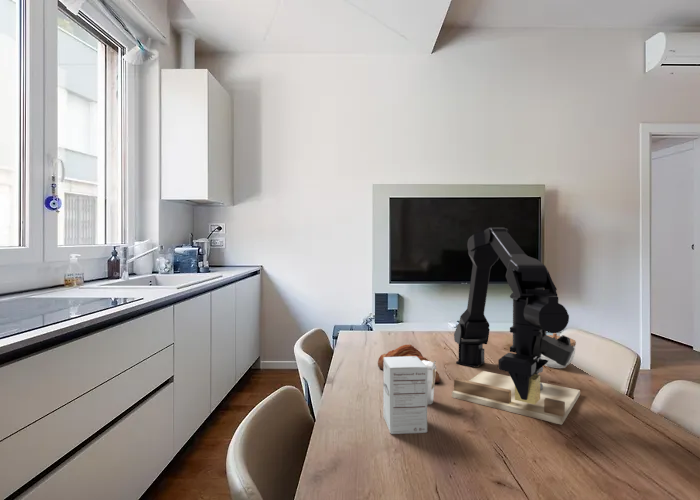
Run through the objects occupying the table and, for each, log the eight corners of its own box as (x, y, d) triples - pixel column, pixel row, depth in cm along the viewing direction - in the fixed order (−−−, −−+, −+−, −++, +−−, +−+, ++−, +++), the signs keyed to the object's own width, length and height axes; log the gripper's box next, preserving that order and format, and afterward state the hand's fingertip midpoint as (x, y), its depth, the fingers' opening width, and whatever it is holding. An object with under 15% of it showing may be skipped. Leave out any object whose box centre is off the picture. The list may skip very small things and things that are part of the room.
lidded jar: (581, 372, 112) (581, 338, 111) (540, 369, 114) (540, 336, 114) (568, 361, 122) (568, 330, 122) (530, 359, 124) (531, 329, 124)
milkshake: (426, 408, 86) (426, 362, 86) (411, 400, 91) (411, 356, 91) (442, 404, 88) (443, 359, 88) (427, 396, 93) (427, 353, 93)
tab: (514, 399, 84) (515, 376, 84) (520, 394, 87) (520, 371, 87) (535, 404, 82) (535, 380, 82) (540, 398, 85) (540, 375, 85)
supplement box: (382, 418, 82) (382, 356, 82) (418, 416, 82) (418, 355, 82) (389, 435, 74) (389, 367, 74) (428, 433, 75) (428, 366, 75)
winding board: (451, 397, 93) (451, 381, 93) (483, 375, 108) (483, 361, 108) (561, 424, 78) (561, 406, 78) (579, 395, 94) (579, 379, 94)
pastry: (436, 367, 116) (436, 340, 116) (440, 385, 101) (440, 354, 101) (378, 364, 119) (378, 338, 119) (373, 382, 104) (373, 351, 104)
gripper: (560, 336, 72) (559, 422, 72) (578, 320, 86) (578, 392, 87) (497, 328, 79) (497, 406, 79) (524, 315, 93) (524, 381, 94)
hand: (527, 396), depth 84 cm, fingers closed on tab, 4 cm apart
